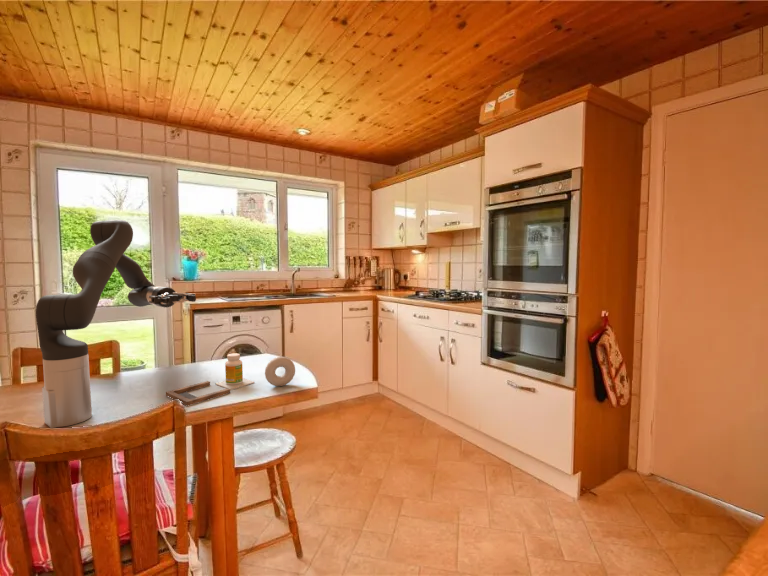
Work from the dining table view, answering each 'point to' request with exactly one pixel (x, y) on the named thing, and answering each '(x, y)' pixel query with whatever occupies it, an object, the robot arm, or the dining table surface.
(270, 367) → the donut
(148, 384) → the dining table surface
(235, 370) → the supplement bottle
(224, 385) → the pad
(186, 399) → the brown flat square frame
